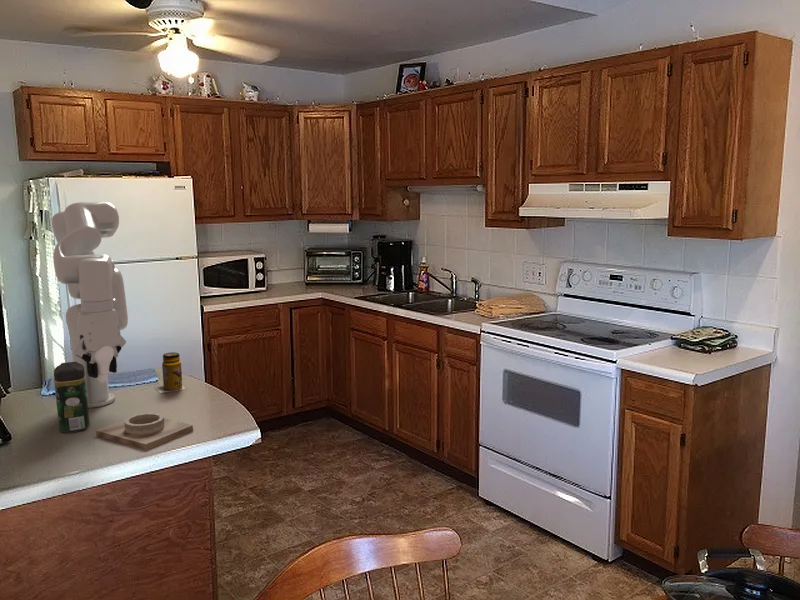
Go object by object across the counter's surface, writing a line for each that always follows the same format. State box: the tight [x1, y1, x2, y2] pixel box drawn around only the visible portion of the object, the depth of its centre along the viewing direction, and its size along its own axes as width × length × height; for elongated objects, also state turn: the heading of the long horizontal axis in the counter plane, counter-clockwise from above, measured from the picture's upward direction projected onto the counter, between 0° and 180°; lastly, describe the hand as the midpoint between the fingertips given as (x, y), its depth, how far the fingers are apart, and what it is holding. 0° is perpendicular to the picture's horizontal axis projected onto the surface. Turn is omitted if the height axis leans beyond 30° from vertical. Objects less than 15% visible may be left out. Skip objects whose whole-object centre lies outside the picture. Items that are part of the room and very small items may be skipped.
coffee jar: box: [53, 361, 90, 433], centre depth 189 cm, size 10×8×19 cm
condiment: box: [154, 351, 187, 394], centre depth 225 cm, size 7×8×12 cm
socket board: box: [95, 412, 194, 450], centre depth 186 cm, size 20×16×4 cm
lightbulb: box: [89, 346, 114, 383], centre depth 176 cm, size 6×6×11 cm
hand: (102, 373), depth 176 cm, fingers closed on lightbulb, 4 cm apart
